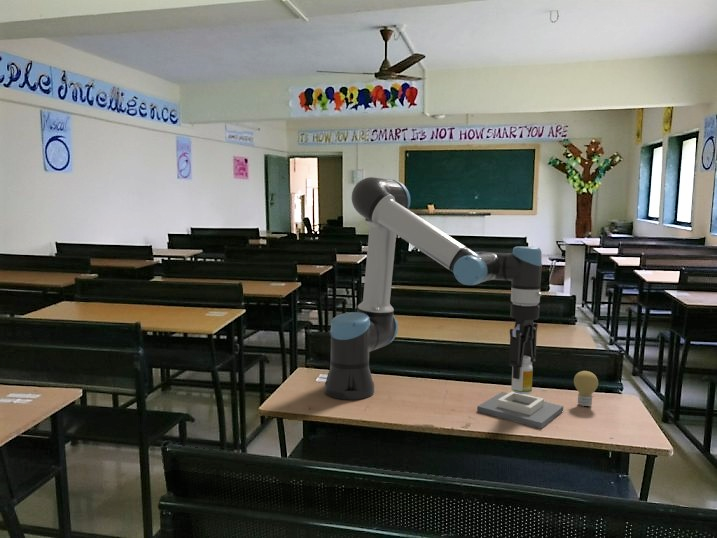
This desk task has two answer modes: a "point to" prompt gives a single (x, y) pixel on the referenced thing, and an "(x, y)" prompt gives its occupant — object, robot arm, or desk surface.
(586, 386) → the light bulb
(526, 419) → the holder board
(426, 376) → the desk surface
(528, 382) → the supplement bottle
